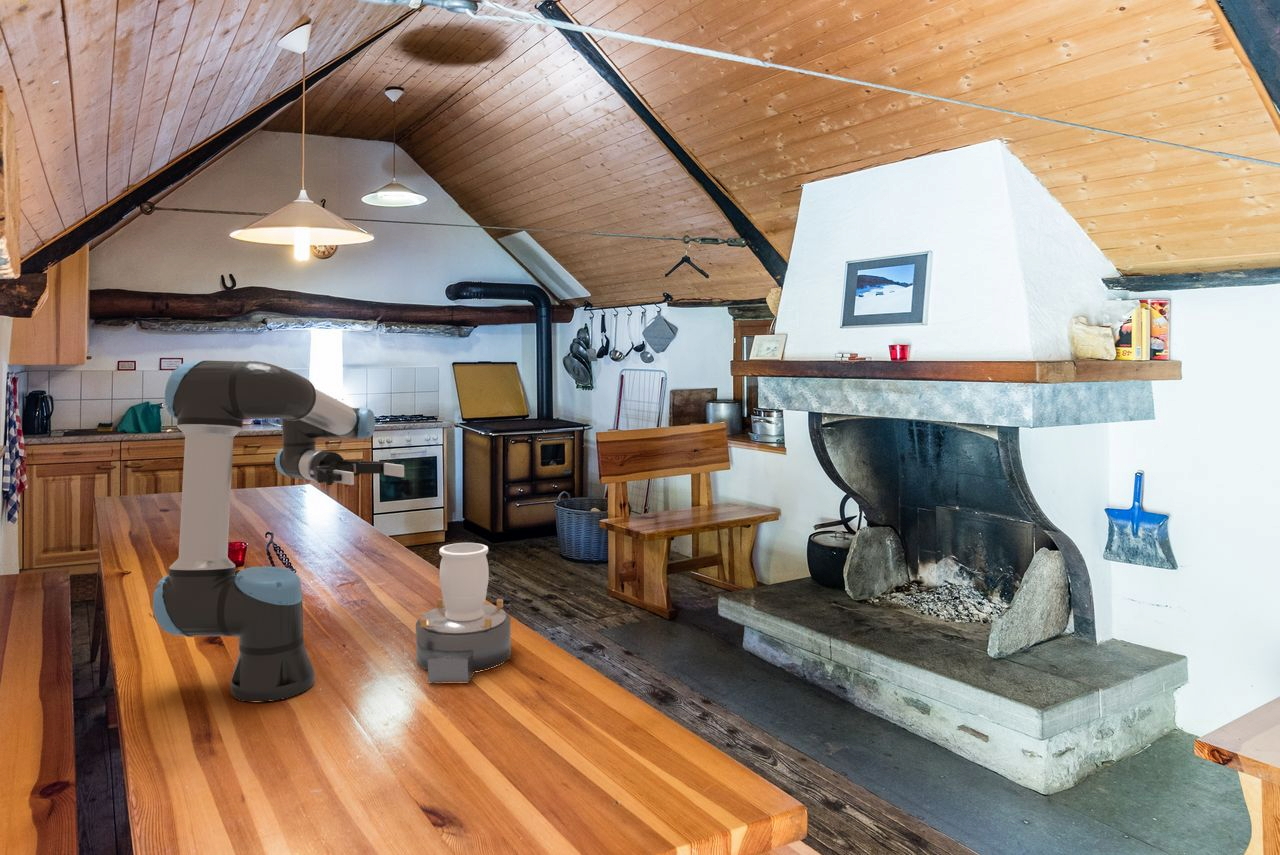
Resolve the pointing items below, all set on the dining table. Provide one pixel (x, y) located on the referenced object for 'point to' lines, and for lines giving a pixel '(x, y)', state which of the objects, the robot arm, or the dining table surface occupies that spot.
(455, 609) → the jar
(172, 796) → the dining table surface
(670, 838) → the dining table surface
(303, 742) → the dining table surface
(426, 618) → the cylinder
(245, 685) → the robot arm
